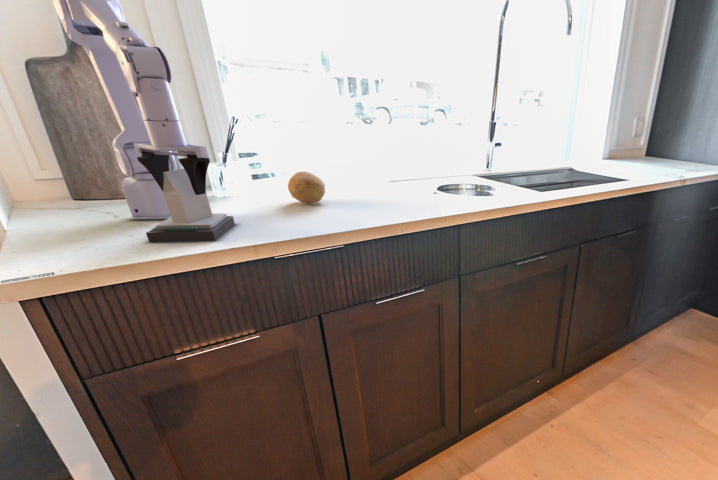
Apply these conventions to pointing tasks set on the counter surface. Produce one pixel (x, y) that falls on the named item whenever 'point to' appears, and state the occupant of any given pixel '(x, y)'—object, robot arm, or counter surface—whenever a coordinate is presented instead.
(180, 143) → the robot arm
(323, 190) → the potato
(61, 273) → the counter surface
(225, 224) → the scale
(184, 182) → the grey angular block
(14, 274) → the counter surface
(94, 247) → the counter surface
